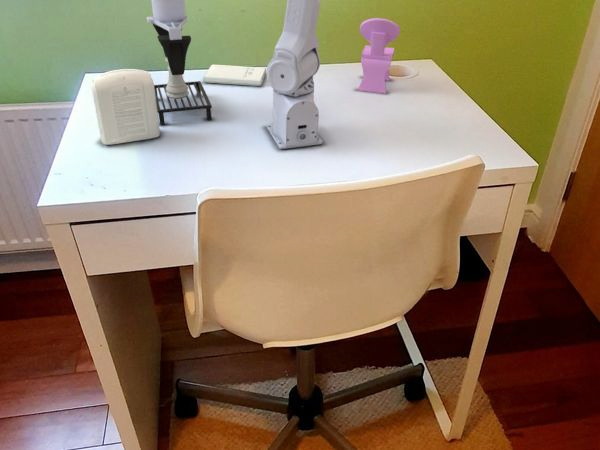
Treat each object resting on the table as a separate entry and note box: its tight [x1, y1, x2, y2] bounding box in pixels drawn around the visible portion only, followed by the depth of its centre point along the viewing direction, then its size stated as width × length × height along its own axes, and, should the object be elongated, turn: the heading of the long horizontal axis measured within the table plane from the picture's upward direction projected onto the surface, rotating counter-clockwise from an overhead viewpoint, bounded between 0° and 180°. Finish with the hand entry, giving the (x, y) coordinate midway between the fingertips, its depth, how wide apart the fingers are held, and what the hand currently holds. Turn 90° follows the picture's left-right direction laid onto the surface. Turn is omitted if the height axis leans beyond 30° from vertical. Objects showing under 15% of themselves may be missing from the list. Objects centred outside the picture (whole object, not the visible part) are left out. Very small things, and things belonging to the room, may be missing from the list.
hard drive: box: [203, 64, 267, 87], centre depth 123 cm, size 2×8×12 cm
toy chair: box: [357, 17, 401, 95], centre depth 118 cm, size 8×9×15 cm
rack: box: [154, 80, 213, 126], centre depth 108 cm, size 13×10×3 cm
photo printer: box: [91, 68, 161, 145], centre depth 95 cm, size 10×4×12 cm, turn 115°
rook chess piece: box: [164, 57, 190, 100], centre depth 105 cm, size 4×4×8 cm
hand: (175, 67), depth 104 cm, fingers open, 7 cm apart
